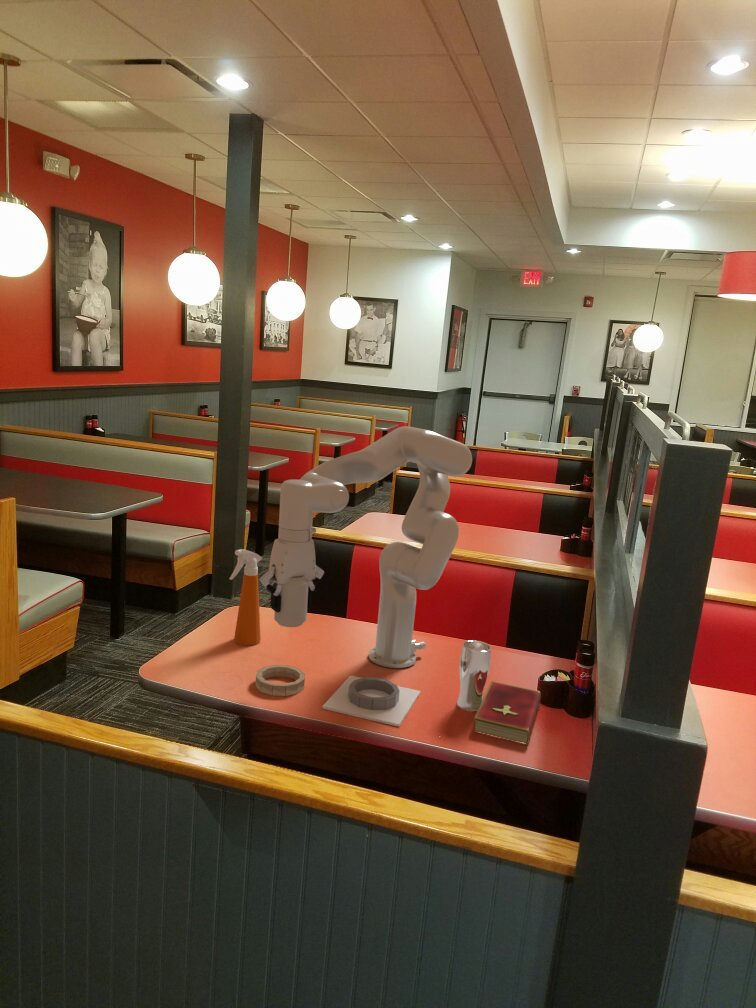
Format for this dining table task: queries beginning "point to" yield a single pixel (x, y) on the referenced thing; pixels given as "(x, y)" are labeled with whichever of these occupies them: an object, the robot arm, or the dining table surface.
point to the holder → (373, 700)
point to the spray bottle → (248, 599)
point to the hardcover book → (508, 712)
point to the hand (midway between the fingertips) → (291, 607)
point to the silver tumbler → (473, 674)
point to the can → (293, 603)
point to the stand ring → (278, 688)
